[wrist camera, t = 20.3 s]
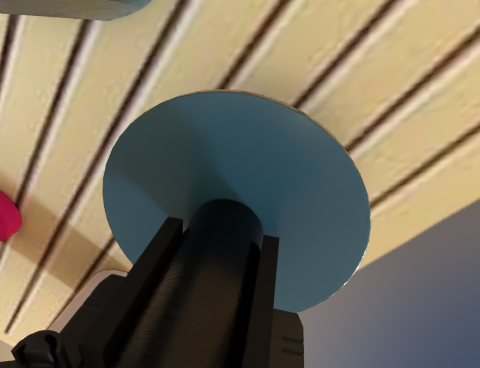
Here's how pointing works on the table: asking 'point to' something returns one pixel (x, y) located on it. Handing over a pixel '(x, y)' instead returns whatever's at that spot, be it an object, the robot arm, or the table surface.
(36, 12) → the pot
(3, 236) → the pepper mill
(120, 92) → the table surface
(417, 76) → the table surface
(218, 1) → the table surface
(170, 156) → the lid
